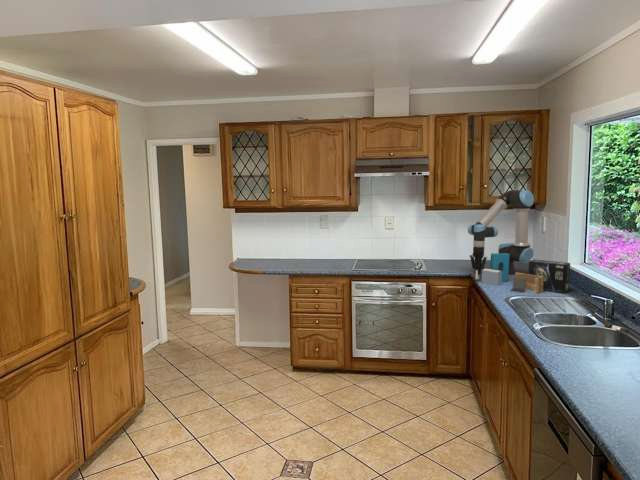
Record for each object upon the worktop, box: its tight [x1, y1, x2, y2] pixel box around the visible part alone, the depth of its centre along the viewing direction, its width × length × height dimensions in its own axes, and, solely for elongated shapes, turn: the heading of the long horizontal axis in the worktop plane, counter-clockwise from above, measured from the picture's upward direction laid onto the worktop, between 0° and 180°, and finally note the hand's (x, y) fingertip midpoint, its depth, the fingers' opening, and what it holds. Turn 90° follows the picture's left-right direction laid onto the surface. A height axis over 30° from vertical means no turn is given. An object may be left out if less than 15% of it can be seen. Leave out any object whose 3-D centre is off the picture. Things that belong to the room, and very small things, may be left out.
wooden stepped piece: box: [514, 271, 544, 295], centre depth 304 cm, size 10×19×10 cm, turn 40°
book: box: [481, 268, 503, 287], centre depth 322 cm, size 5×12×10 cm, turn 40°
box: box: [527, 259, 571, 294], centre depth 305 cm, size 23×10×19 cm, turn 48°
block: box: [489, 252, 510, 283], centre depth 330 cm, size 12×5×20 cm, turn 90°
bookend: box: [509, 277, 526, 294], centre depth 301 cm, size 4×8×8 cm, turn 40°
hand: (477, 278), depth 330 cm, fingers closed
